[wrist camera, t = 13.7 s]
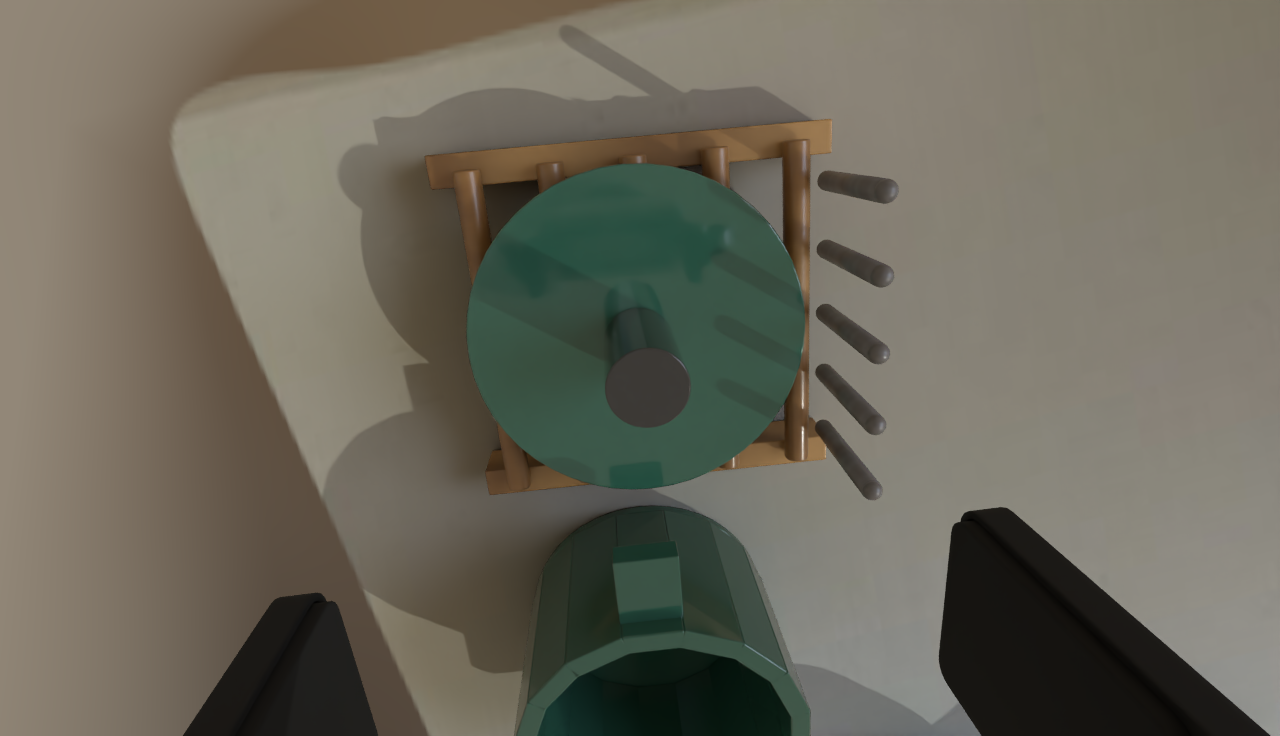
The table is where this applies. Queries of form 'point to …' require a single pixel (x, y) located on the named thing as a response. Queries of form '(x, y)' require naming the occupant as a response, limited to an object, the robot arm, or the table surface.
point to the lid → (635, 326)
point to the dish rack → (714, 152)
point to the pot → (656, 636)
